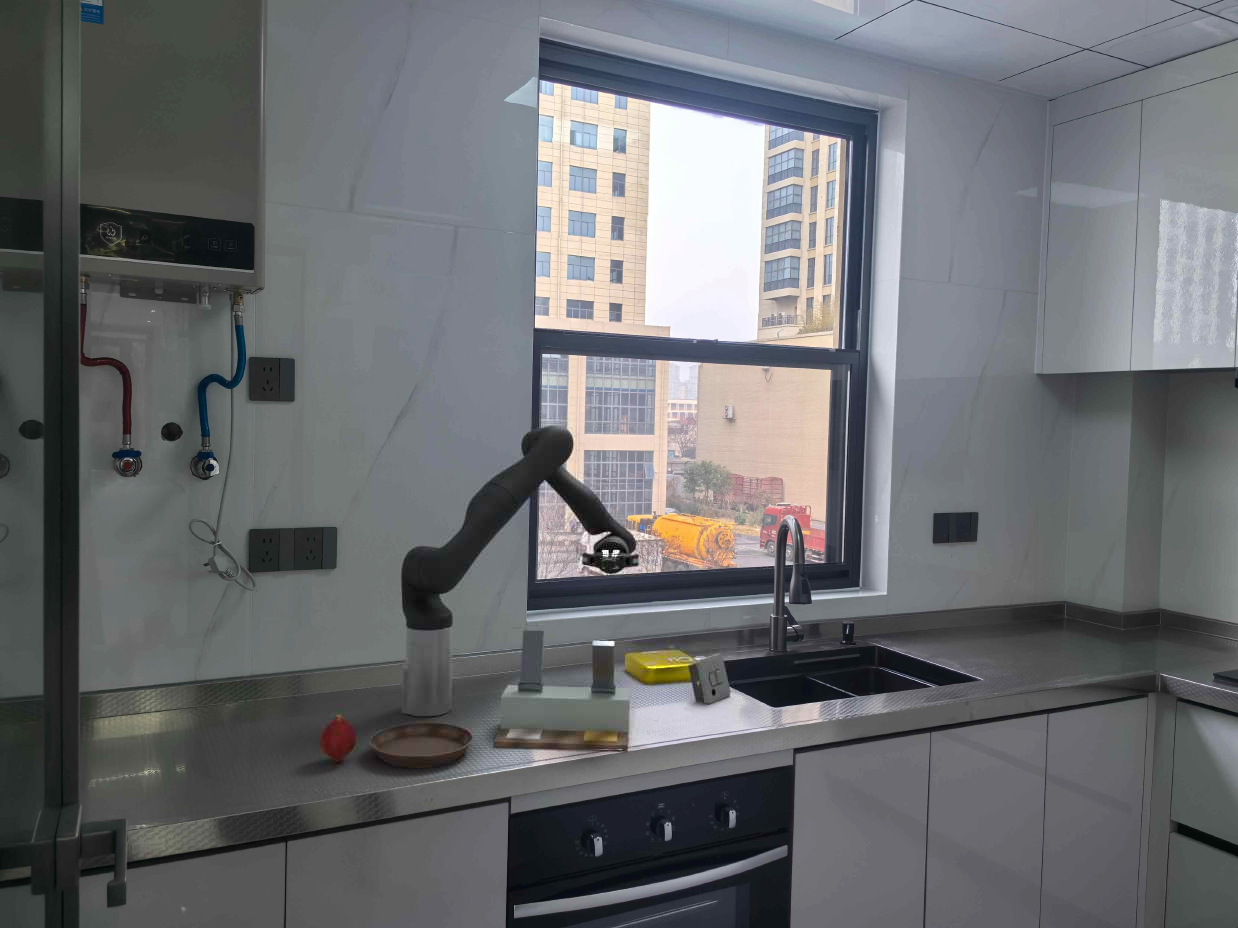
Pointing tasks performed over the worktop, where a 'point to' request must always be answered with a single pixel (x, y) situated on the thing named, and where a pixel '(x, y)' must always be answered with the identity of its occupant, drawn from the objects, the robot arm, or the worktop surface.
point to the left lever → (532, 661)
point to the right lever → (603, 667)
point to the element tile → (659, 666)
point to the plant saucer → (421, 744)
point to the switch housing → (565, 709)
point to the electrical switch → (709, 679)
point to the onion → (338, 738)
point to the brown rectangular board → (561, 739)
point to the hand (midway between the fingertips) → (608, 564)
